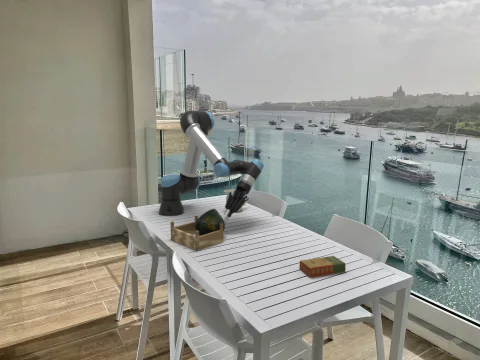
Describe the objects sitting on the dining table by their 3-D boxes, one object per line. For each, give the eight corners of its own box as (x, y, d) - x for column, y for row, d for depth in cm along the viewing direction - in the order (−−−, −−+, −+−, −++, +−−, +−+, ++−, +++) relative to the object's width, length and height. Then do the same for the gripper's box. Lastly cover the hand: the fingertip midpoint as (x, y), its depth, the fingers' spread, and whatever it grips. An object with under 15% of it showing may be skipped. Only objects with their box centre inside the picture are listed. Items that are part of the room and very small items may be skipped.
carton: (298, 269, 139) (299, 259, 138) (333, 264, 145) (333, 254, 144) (310, 278, 132) (310, 268, 131) (345, 272, 137) (346, 262, 136)
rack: (170, 239, 171) (170, 221, 169) (196, 232, 182) (196, 215, 181) (197, 250, 157) (197, 231, 156) (223, 241, 168) (223, 223, 167)
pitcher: (252, 210, 224) (252, 189, 221) (228, 214, 214) (228, 192, 212) (243, 206, 233) (243, 186, 230) (219, 210, 223) (219, 189, 221)
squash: (188, 231, 167) (208, 208, 165) (192, 222, 182) (211, 201, 180) (210, 250, 168) (231, 228, 166) (213, 240, 183) (232, 219, 181)
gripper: (258, 190, 185) (236, 228, 177) (240, 186, 194) (218, 222, 186) (251, 182, 181) (228, 220, 172) (233, 178, 189) (211, 215, 181)
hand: (223, 221), depth 179 cm, fingers closed
